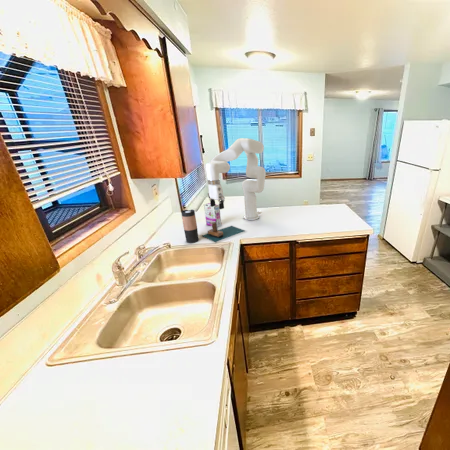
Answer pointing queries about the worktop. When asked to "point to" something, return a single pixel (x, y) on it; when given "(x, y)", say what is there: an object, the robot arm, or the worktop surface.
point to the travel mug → (190, 226)
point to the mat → (225, 233)
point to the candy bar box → (212, 214)
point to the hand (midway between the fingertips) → (217, 207)
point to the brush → (215, 231)
